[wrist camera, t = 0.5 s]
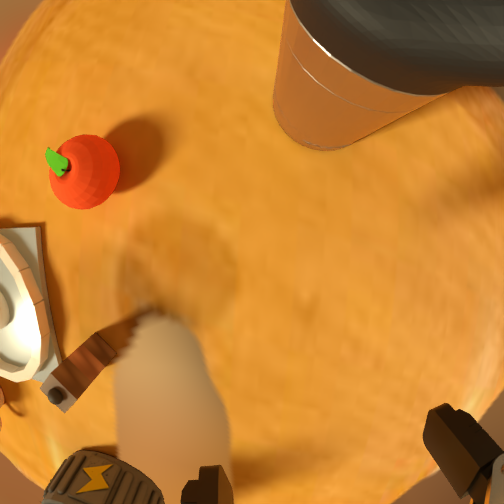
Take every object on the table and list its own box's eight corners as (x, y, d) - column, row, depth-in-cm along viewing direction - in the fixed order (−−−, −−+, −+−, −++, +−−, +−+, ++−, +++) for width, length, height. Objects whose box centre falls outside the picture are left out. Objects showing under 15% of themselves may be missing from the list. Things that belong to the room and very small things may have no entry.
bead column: (82, 347, 31) (33, 394, 20) (95, 332, 31) (43, 379, 20) (103, 367, 31) (59, 420, 21) (116, 353, 31) (71, 407, 20)
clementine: (59, 180, 28) (17, 179, 21) (90, 124, 27) (51, 110, 20) (109, 220, 28) (70, 228, 21) (144, 161, 27) (111, 152, 20)
